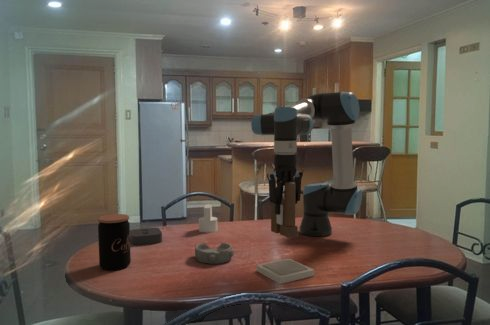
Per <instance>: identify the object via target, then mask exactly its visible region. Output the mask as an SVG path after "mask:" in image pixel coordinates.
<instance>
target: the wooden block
mask: <svg viewBox="0 0 490 325" xmlns="http://www.w3.org/2000/svg"><path fill="white" fill-rule="evenodd" d="M283 194H284V195H283V196H284V197H283V196H282V201H281V205H283V225H280V224H277V214H275V204H273V203H270V231H271V233H275V234H279V235H280V236H282V237H286V238H288V239H292V238H297V237H298V234H299V232H298V229H299V228H298V225H296V204H295V183H294V182H285V183H284V188H283Z"/></svg>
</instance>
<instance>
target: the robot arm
mask: <svg viewBox="0 0 490 325" xmlns="http://www.w3.org/2000/svg"><path fill="white" fill-rule="evenodd" d="M359 103H360V102H359V100H358V98H357V95H356V94H355V93H354V92H352V91H350V92H349V91H337V92H325V93H324V92H321V93H320V92H319V93H316V94H315V93H314V94H312V95H309V96H307V97H304V98H300V99H298V101H296V102H295V103H294V104H291V105H289V106H277V107H275V109H274V110H273V111H272V112H269V113H265V114H262V113H261V114H255V115H254V116H253V117H252V118H251V122H250V125H251V131H252V132H253V134H254V135H260V136H274V137H273V152H274V155H273V165H274V169H273V172H271V173H266V178H267V180H268V196H269V203H270V204H271V203H273V204H275V214H277V224H280V225H283V205H281V201H282V197H283V196H284V195H283V194H284V183H285V182H294V183H295V205H296V204H298V202H300V201H301V192H302V190H301V189H302V178H303V176H304V173H303V172H302V171H298V170H297V167H296V166H297V164H298V163H297V162H298V161H297V158H298V157H297V156H298V155H297V154H296V153H297V151H298V150H297V149H298V148H297V147H298V145H297V144H298V142H297V141H298V139H297V138H298V136H305V135H309V134H310V133H311V132H312V131H313V129H314V125H315V123H314V122H315V121H316V120H317V121H326V122H327V123H326V126H327V127H329V128H330V133H331V153H332V173H333V174H332V176H333V181H332V182H331V183H330V184H329V182H328V183H327V182H320V183H311V184H307V185H304V187H303V193H302V200H303V201H302V202H303V204H302V212H303V214H302V218H301V222H300V225H299V228H298V229H299V232H298V233H300V234H301V235H305V236H308V237H309V236H310V237H326V236H331V235H332V234H333V228H332V227H333V226H332V225H331V221H330V217H329V213H334V214H341V215H357V213H358V212H359V210H360V208H361V205H362V201H363V191H362V189H360V188H358V184H357V182H356V181H355V180H354V159H353V158H354V157H353V137H352V136H353V135H352V134H353V133H352V132H353V130H352V128H353V126H354V125H355V124H356V120H358V119H359V117H360V112H361V111H360V104H359Z"/></svg>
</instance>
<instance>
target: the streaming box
mask: <svg viewBox="0 0 490 325" xmlns="http://www.w3.org/2000/svg"><path fill="white" fill-rule="evenodd" d="M161 243H163V233H162V231H161V229H160V228H159V227H147V228H135V229H134V228H133V229H131V230H130V245H131V246H145V245H155V244H161Z"/></svg>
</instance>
